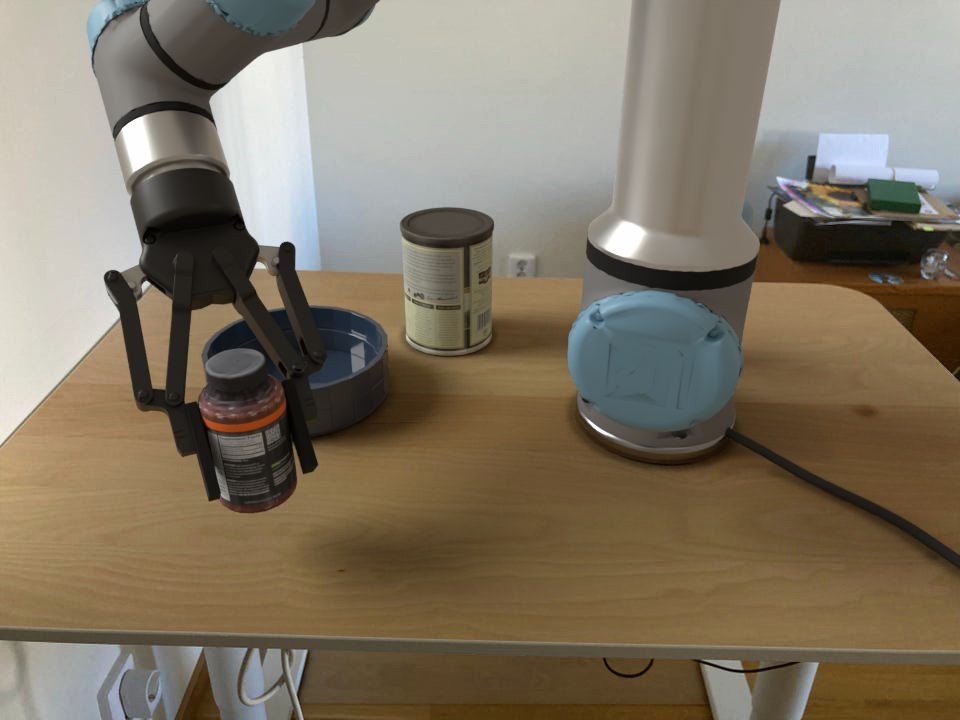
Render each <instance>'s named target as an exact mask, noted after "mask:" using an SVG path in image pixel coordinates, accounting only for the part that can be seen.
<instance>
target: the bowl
mask: <svg viewBox="0 0 960 720" xmlns="http://www.w3.org/2000/svg"><path fill="white" fill-rule="evenodd" d="M309 307H310V309H311V312H312V315H313V317H314V320H315V323H316V325H317V328H318V331H319V333H320V336H321V338H322V341H323V344H324V346H325V349H326V352H327V358H326V360H325V362H324V364H323V366H322V368H321V370H319V371H318V372H315V373H313V374H311V375H310V376H309V377H308V381H309V384H310V388H311V391H312V394H313V398H314V401H315V404H316V408H317V419H316V420H315V422H314V423H311V424H307V428H308V431H309V435H310V438H314V437H319V436H323V435H327V434H331V433H334V432H338V431H340V430H343V429H346V428H348V427H351V426H353V425H355V424H356V423H358V422H361V421H362V420H363V419H366V417H368V416H369V415H370V414H372V413H373V412H374V411H375V410H376V409H377V408H378V407H379V405H380V404H381V403H382V402H383V401H384V400H385V399H386V397H387V394H388V392H389V390H390V388H391V374H390V357H389V339H388V336H389V335H388V334H387V332H386V330H385V328H384V327H383V326H382V325H381V324H380V323H379V322H378V321H376V320H375V319H374V318H372V317H371V316H369V315H367V314H363V313H361V312H359V311H356V310H353V309H348V308H345V307H344V308H343V307H338V306H330V305H315V304H313V305H310V304H309ZM267 310H268V311H269V313H270V314H271V316H272V317H273V319H274V320H275V322H276V323H277V325H278V326H279V328H280V329H281V330H282V332H283V333H284V335H285V336H286V338H287V339H288V341H289V342H290V344H291V345H292V347H293V348H294V349H295V351H296V352H297V354H298V355H299V357H300V358H302V357H303V355H302V352H301V349H300V347H299V344H298V341H297V339H296V336H295V333H294V331H293V328H292V325H291V323H290V320H289V317H288V315H287V312H286V309H285V307H284V306H283V307H278V308H272V309H267ZM231 349H252V350H256V351H258V352H260V353H261V354H263V355H264V357H265V360H266V366H267V369H268V374H269V375H271V376H274V377H275V378H276V379H277V380H278V381H279V382H280V383H282V381H283V380H285V378H284V377H283V376H282V374H281V373H280V371H279V370H278V368H277V367H276V365H275V364H274V362H273V361H272V359H271V358H270V356H269V355H268V353H267V352H266V351H265V349H264V348H263V346H262V345H261V343H260V342H259V340H258V339H257V337H256V336H255V334H254V333H253V331H252V330H251V328H250V327H249V326H248V324H247V323H246V321H245V320H244V318H243V317H241V318H240V319H237V320H235V321H232V322H230V323H228V324H227V325H225V326H224V327H222V328H220V329H219V330H218V331H216V332H214V333H213V334H212V335H211V337H210V338H209V339H208V340H207V341H206V342H205V344H204V346H203V349H202V352H201V354H200V359H201V363H202V369H203V374H204V379H205V383H206V385H207V384H208V383H207V376H206V371H205V365H206V363H207V361H208V360H209V359H210V358H211V357H213V356H214V355H216V354H218V353H220V352H223V351H226V350H231ZM206 385H205V386H206ZM291 438H292V435H291ZM292 440H293V438H292Z"/></svg>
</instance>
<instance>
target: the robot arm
mask: <svg viewBox="0 0 960 720" xmlns="http://www.w3.org/2000/svg"><path fill="white" fill-rule="evenodd" d="M380 1H381V0H99V1H98V2H97V3H96V4H95V5H94V6H93V8H92V9H91V10H90V12H89V15H88V18H87V21H86V35H87V40H88V44H89V49H90V56H89V57H90V60H91V61H90V66H91V70H92V73H93V75H94V77H95V78H96V82H97V85H98V88H99V92H100V95H101V99H102V103H103V107H104V109H105V110H104V111H105V113H106V114H105V115H106V117H107V121H108V124H109V128H110V131H111V136H112V139H113V141H114V148H115V151H116V155H117V159H118V163H119V166H120V171H121V174H122V178H123V182H124V186H125V190H126V192H127V195H128V196H130V200H129V205H130V208H131V213H132V215H133V219H134V224H135V228H136V231H137V235H138V238H139V242H140V243H139V244H140V246H141V253H140V256H139V259H138V264H136V265H134V266H131V267H130V268H127V269H126V270H123V271H121V272H120V271H119V270H117V269H110V270H107V271H106V272H105V273H104V274H103V282H104V286H105V290H106V293H107V295H108V297H109V299H110V300H111V301H112V303H113V305H114V306H115V308H116V309H117V311H118V314H119V320H120V324H121V325H120V326H121V331H122V336H123V342H124V346H125V352H126V359H127V364H128V369H129V375H130V380H131V387H132V393H133V397H134V400H135V401H134V402H135V405H136V408H137V410H139V411H141V412H143V413H147V412H148V413H149V412H160V413H163V414H165V415H166V416H167V418H168V420H169V425H170V428H171V432H172V436H173V439H174V443H175V447H176V451H177V453H178V454H179V455H180V457H181V458H185V457H189V456H192V455H196V459H197V462H198V466H199V470H200V474H201V477H202V482H203V485H204V488H205V489H204V490H205V493H206V496H207V500H208V502H213V501H216V500H219V499H220V496H221V490H220V487H219V483H218V479H217V475H216V472H215V468H214V464H213V461H212V457H211V453H210V449H209V446H208V442H207V438H206V434H205V431H204V427H203V423H202V419H201V416H200V412H199V408H198V400H195V401H191V402H187V403H186V401H185V400H186V399H185V398H186V388H187V375H188V361H189V348H190V336H191V335H190V334H191V324H192V323H191V322H192V313H193V312H192V311H197V310H203V309H205V308H206V307H207V308H208V307H209V306H212V305H223V306H224V305H230V304H231V305H232V306H233V308H234V309H235V311H236V312H237V314H239V315H240V316H241V318H244V320H245V321H246V323H247V324H248V326H249V327H250V328H251V330H252V331H253V333H254V334H255V336H256V337H257V339H258V340H259V342H260V343H261V345H262V346H263V348H264V349H265V351H266V352H267V353H268V355H269V356H270V358H271V359H272V361H273V362H274V364H275V365H276V367H277V368H278V370H279V371H280V373H281V374H282V376H283V377H284V378H285V380H283V381H282V383H281V384H282V386H283V389H284V392H285V398H286V405H287V410H288V417H289V425H290V431H291V435H292V438H293V439H292V443H293V445H294V448H295V452H296V455H297V458H298V462H299V465H300V469H301V472H302V475H307V474H311V473H314V472H315V470H316V469H317V468H318V466H319V462H318V459H317V458H318V457H317V455H316V452H315V448H314V445H313V442H312V437H310V435H309V431H308V428H307V424H311V423H314V422H315V420H316V419H317V408H316V404H315V401H314V398H313V394H312V391H311V388H310V384H309V381H308V377H309V376H310V375H311V374H313V373H315V372H318V371H319V370H321V368H322V366H323V364H324V362H325V360H326V358H327V352H326V349H325V346H324V344H323V341H322V338H321V336H320V333H319V331H318V328H317V325H316V323H315V320H314V317H313V315H312V312H311V309H310V307H309V305H310V304H309V302H308V298H307V297H306V294H305V292H304V288H303V286H302V284H301V281H300V278H299V276H298V273H297V270H296V257H297V256H296V255H297V254H296V253H297V252H296V251H297V250H296V246H295V245H294V243H292V242H291V241H288V240H287V241H282V242H281V243H280V245H279V246H273V245H262V244H259V242H258V241H257V239H256V238H254V237H253V236H252V235H251V233H250V232H249V231H248V228H247V226H246V221H245V220H244V219H245V218H244V216H243V215H244V214H243V212H242V208H241V206H240V205H241V204H240V203H239V199H238V196H237V193H236V189H235V186H234V183H233V181H232V180H231V179H230V178H231V172H230V168H229V165H228V162H227V158H226V155H225V152H224V149H223V145H222V143H221V139H220V136H219V133H218V132H219V131H218V127H217V125H216V121H215V117H214V115H213V111H212V107H211V103H210V101H211V99H212V97H213V96H214V95H215V94H217V92H219V91H220V90H221V89H223V88H224V87H225V86H227V85H228V84H229V83H230V82H231V81H232V80H233V79H234V78H235V77H236V76H237V75H238V74H239V73H241V72H242V71H243V70H244V69H246V67H248V66H249V65H250V64H252V63H253V62H254V61H255V60H256V59H258V58H259V57H261V56H262V55H264V54H266V53H270V52H274V51H278V50H282V49H286V48H289V47H293V46H297V45H300V44H305V43H308V42H314V41H317V40H321V39H325V38H326V39H327V38H334V37H335V38H337V37H340V36H344V35H345V34H347V33H349V32H351V31H352V30H354V29H356V28H358V27H360V26H362V25H363V24H364V23H365V22H367V20H368V19H369V18H370V16H371V15H372V13H373V12H374V10H375V8H376V5H377V4H378V3H379V2H380ZM781 2H782V0H631V4H630V5H631V7H630V15H629V26H628V36H627V47H626V58H625V67H624V78H623V86H622V87H623V89H622V97H621V98H622V100H621V107H620V120H619V129H618V139H617V150H616V160H615V169H614V170H615V171H614V180H613V191H612V201H611V203H612V204H611V205H610V206H609V207H608V208H607V209H606V210H605V211H603V212H602V213H601V214H599V215H598V216H597V217H595V218H594V219H593V220H592V221H591V222H590V223H589V224H588V225H589V226H588V229H587V235H586V236H587V237H586V247H585V257H584V269H583V280H582V292H581V301H580V302H581V303H580V307H579V308H580V309H579V314H578V315H577V316H576V318H575V319H574V321H573V323H572V324H571V329H570V331H569V333H568V336H567V337H568V338H567V354H566V355H567V367H568V371H569V375H570V377H571V380H572V382H573V384H574V387H575V388H576V389H577V391H576V395H575V396H576V398H575V408H574V415H575V419H576V422H577V424H578V426H579V427H580V429H581V431H582V432H583V433H584V434H585V435H586V437H588V438H589V439H590V440H592V441H593V442H594V443H595V444H597V445H598V446H600V447H602V448H604V449H606V450H608V451H610V452H612V453H613V454H616V455H618V456H622V457H625V458H627V459H631V460H635V461H640V462H645V463H652V464H661V465H662V464H663V465H675V464H676V465H677V464H679V465H680V464H687V463H689V464H690V463H694V462H698V461H703V460H705V459H709V458H710V457H712V456H715V455H716V454H719V453H720V452H721V451H722V450H723V449H724V448H725V447H726V446H727V445H728V444H729V442H730V441H733V442H734V443H737V444H739V445H740V446H742V447H744V448H746V449H747V450H749V451H751V452H753V453H755V454H756V455H758V456H760V457H762V458H764V459H765V460H767V461H770V462H771V463H773V465H776V466H777V467H780V468H781V469H782V470H784V471H786V472H788V473H789V474H791V475H793V476H795V477H797V478H798V479H800V480H801V481H804V482H806V483H808V484H810V485H812V486H813V487H815V488H818V489H819V490H822V491H823V492H826V493H827V494H830V495H832V496H833V497H836V498H838V499H840V500H842V501H844V502H847V503H849V504H850V505H853V506H855V507H858V508H859V509H861V510H863V511H865V512H867V513H869V514H871V515H873V516H875V517H878V518H879V519H881V520H883V521H885V522H886V523H888V524H890V525H892V526H894V527H896V528H897V529H899V530H901V531H902V532H904V533H906V534H907V535H909V536H911V537H912V538H913V539H915V540H916V541H918V542H919V543H921V544H923V546H925V547H927V549H928V548H929V549H930V550H931V551H932V552H933V553H935V554H937V555H938V556H940V557H941V558H943V559H944V560H945V561H946V562H948V563H950V564H951V565H953V566H954V567H955V568H957V569H959V570H960V554H959V553H957V552H956V551H955V550H953V549H952V548H950V547H949V546H947V545H946V544H944V543H943V542H941V541H940V540H939V539H937V538H936V537H935V536H933V535H931V534H930V533H928V532H927V531H926V530H924V529H922V528H921V527H919V526H917V525H916V524H914V523H913V522H911V521H909V520H908V519H906V518H904V517H902V516H901V515H899V514H897V513H895V512H894V511H891V510H890V509H889V508H886V507H883V506H882V505H880V504H877V503H875V502H873V501H871V500H869V499H868V498H865V497H863V496H861V495H860V494H857V493H854V492H852V491H851V490H848V489H846V488H843V487H842V486H839V485H837V484H835V483H833V482H831V481H829V480H827V479H825V478H823V477H821V476H819V475H817V474H815V473H813V472H811V471H809V470H807V469H805V468H804V467H801V466H800V465H799V464H796V463H795V462H793V461H791V460H789V459H788V458H786V457H784V456H782V455H780V454H779V453H778V452H776V451H773V450H772V449H770V448H769V447H766V446H764V445H763V444H761V443H759V442H757V441H755V440H754V439H752V438H749V436H746V435H744V434H742V433H741V432H739V431H737V430H735V429H734V427H735V422H736V418H737V417H736V416H737V415H736V414H737V413H736V407H735V402H734V396H733V395H734V392H735V390H736V388H737V386H738V383H739V380H740V379H741V376H742V373H743V370H744V365H745V364H744V363H745V358H744V354H743V346H742V343H743V336H744V330H745V324H746V318H747V314H748V308H749V303H750V298H751V293H752V289H753V283H754V278H755V272H756V267H757V261H758V256H759V253H760V248H761V247H760V246H761V243H760V239H759V237H758V236H757V235H756V234H755V232H754V229H753V220H754V208H753V206H752V204H751V203H750V201H749V200H747V199H746V193H747V188H748V182H749V177H750V172H751V165H752V161H753V155H754V149H755V146H756V145H755V143H756V139H757V133H758V128H759V123H760V122H759V121H760V117H761V111H762V106H763V101H764V96H765V90H766V89H765V88H766V85H767V80H768V73H769V67H770V62H771V57H772V50H773V46H774V39H775V35H776V31H777V30H776V29H777V23H778V18H779V12H780V7H781ZM257 263H261V264H262V265H264V267H265V270H266V272H267V274H268V275H270V276H272V277H275V283H276V287H277V290H278V293H279V296H280V298H281V300H282V304H283V308H284V307H285V309H286V312H287V315H288V317H289V320H290V323H291V325H292V328H293V331H294V333H295V336H296V339H297V341H298V344H299V347H300V349H301V352H302V355H303V357H302V358H300V357H299V355H298V354H297V352H296V351H295V349H294V348H293V347H292V345H291V344H290V342H289V341H288V339H287V338H286V336H285V335H284V333H283V332H282V330H281V329H280V328H279V326H278V325H277V323H276V322H275V320H274V319H273V317H272V316H271V314H270V313H269V311H268V310H269V309H268V308H267V307H266V306H265V304H264V303H263V301H262V300H261V298H260V296H259V295H258V293H257V290H256V288H255V286H254V284H253V283H252V281H250V279H251V276H252V274H253V272H254V270H255V268H256V265H257ZM146 282H148V283H149V284H150V285H152V286H153V287H154V288H155V289H157V290H158V291H159V292H161V293H162V294H163V295H164V296H166V297H167V298H168V299H170V300H171V301H172V302H171V318H170V328H169V341H168V343H169V344H168V353H167V354H168V355H167V364H166V376H165V388H164V389H163V388H153V384H152V379H151V377H152V376H151V372H150V367H149V362H148V357H147V350H146V345H145V339H144V335H143V328H142V323H141V318H140V311H139V306H138V301H140V300H141V299H142V298H143V293H144V292H143V287H142V286H143V284H144V283H146Z"/></svg>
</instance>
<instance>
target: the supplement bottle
mask: <svg viewBox="0 0 960 720" xmlns="http://www.w3.org/2000/svg"><path fill="white" fill-rule="evenodd" d="M205 371H206V376H207V383H208V384H207V385H205V386H204V387H203V388H202V390H201V392H200V393H199V395H198V398H197V404H198V408H199V412H200V416H201V419H202V423H203V427H204V431H205V434H206V438H207V442H208V446H209V449H210V453H211V457H212V461H213V464H214V468H215V472H216V475H217V479H218V483H219V487H220V490H221V496H220V499H218V501H219V503H220V504H221V505H222V506H223V507H225V508H226V509H228V510H229V511H232V512H235V513H239V514H258V513H266V512H269V511H271V510H273V509H275V508H277V507H279V506H281V505H282V504H284V503H286V502H287V501H288V500H289V499H290V498H291V497H292V496H293V494H294V493H295V491H296V489H297V485H298V475H297V474H298V473H297V466H296V459H295V453H294V446H293V445H294V444H293V439H292V438H291V431H290V425H289V417H288V410H287V405H286V398H285V392H284V389H283V386H282V384H281V383H280V382H279V381H278V380H277V379H276V378H275V377H274V376H271V375H269V374H268V369H267V366H266V360H265V357H264V355H263V354H261V353H260V352H258V351H256V350H252V349H231V350H226V351H223V352H220V353H218V354H216V355H214V356H213V357H211V358H210V359H209V360H208V361H207V363H206V365H205Z"/></svg>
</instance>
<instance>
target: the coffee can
mask: <svg viewBox="0 0 960 720" xmlns="http://www.w3.org/2000/svg"><path fill="white" fill-rule="evenodd" d="M494 230H495V221H494V219H493V217H491V216H490V215H488V214H486V213H484V212H482V211H480V210H475V209H471V208H465V207H453V206H452V207H451V206H444V207H432V208H426V209H421V210H417V211H413V212H411V213H408V214H407V215H405V216H403V218H402V219H401V220H400V222H399V231H400V233H401V252H402V272H403V292H404V312H405V313H404V315H405V339H406V341H407V343H408V345H410V346H411V347H412V348H413V349H415V350H417V351H419V352H421V353H424V354H427V355H428V354H429V355H432V356H441V357H442V356H443V357H451V356H463V355H468V354H472V353H474V352H478V351H479V350H481V349H483V348H484V347H486V346H487V345H489V344H490V342H491V340H492V338H493V331H492V320H493V319H492V317H493V316H492V315H493V313H492V310H493V309H492V308H493V307H492V306H493V238H494V237H493V235H494V234H493V233H494Z"/></svg>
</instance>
